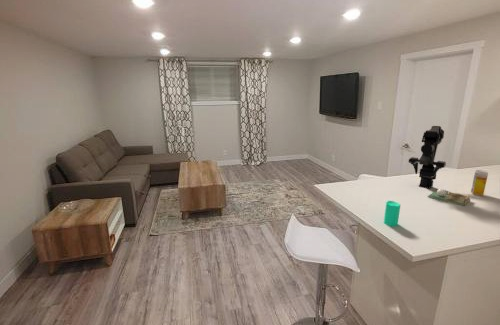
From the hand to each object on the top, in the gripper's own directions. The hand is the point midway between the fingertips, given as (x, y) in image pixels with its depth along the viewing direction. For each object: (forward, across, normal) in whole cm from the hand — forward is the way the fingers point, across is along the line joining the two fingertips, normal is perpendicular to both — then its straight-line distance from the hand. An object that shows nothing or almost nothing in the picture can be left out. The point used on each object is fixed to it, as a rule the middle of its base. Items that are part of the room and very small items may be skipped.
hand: (424, 175), depth 166 cm
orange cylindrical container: (+11, +25, +20) cm, 34 cm away
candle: (+12, +1, -59) cm, 61 cm away
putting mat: (+11, +14, -1) cm, 18 cm away
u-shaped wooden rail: (+11, +19, -1) cm, 22 cm away
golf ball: (+8, +10, -1) cm, 13 cm away
